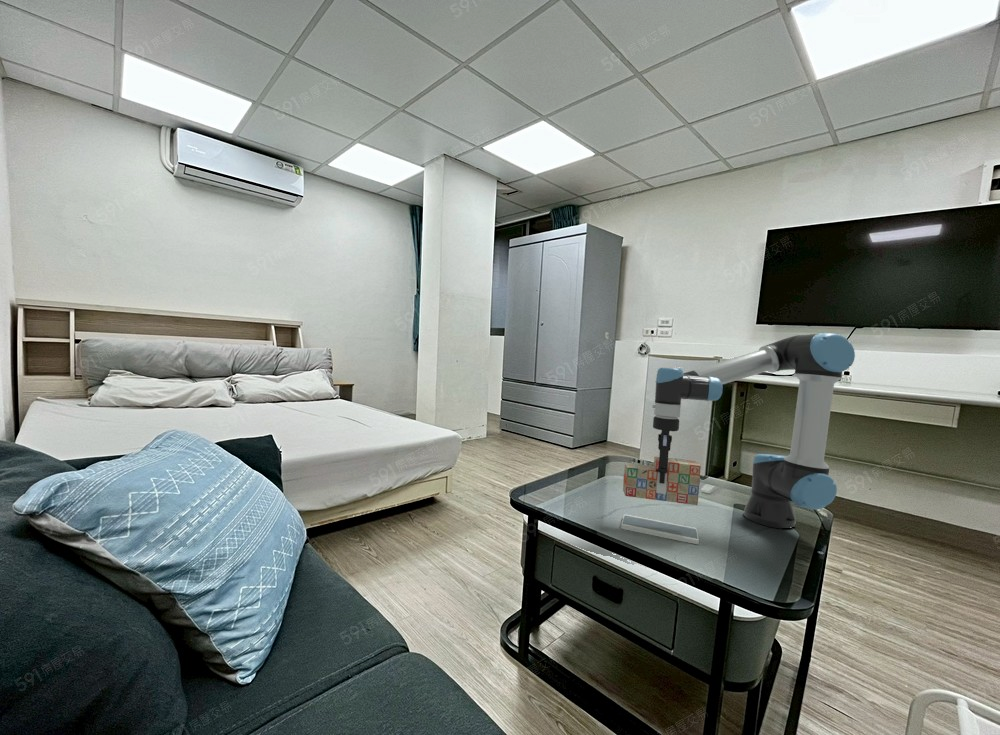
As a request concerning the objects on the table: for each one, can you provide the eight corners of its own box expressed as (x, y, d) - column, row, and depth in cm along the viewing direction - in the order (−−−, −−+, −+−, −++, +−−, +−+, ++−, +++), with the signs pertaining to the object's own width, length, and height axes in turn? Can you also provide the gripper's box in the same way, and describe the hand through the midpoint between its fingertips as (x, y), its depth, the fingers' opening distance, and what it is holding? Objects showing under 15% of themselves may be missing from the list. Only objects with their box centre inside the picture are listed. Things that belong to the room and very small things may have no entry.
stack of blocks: (624, 496, 126) (627, 457, 125) (622, 490, 132) (625, 453, 132) (698, 505, 122) (701, 465, 122) (692, 498, 128) (695, 460, 128)
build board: (696, 531, 128) (696, 527, 127) (698, 544, 118) (698, 540, 118) (624, 517, 136) (624, 513, 136) (620, 528, 127) (621, 524, 127)
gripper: (654, 412, 137) (649, 479, 137) (652, 419, 118) (647, 496, 119) (678, 415, 134) (673, 483, 135) (680, 422, 116) (674, 501, 116)
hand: (661, 489), depth 127 cm, fingers closed on stack of blocks, 7 cm apart
